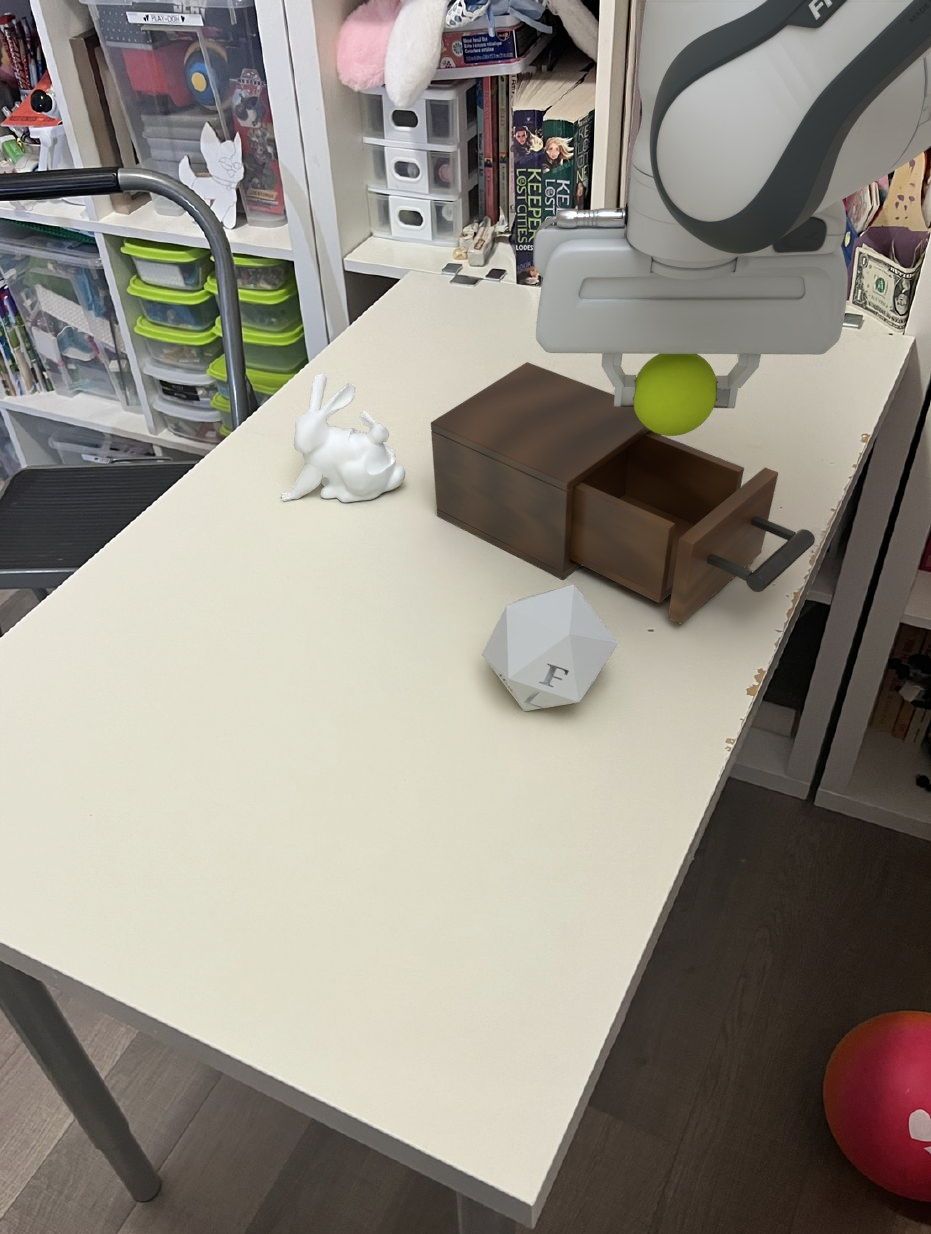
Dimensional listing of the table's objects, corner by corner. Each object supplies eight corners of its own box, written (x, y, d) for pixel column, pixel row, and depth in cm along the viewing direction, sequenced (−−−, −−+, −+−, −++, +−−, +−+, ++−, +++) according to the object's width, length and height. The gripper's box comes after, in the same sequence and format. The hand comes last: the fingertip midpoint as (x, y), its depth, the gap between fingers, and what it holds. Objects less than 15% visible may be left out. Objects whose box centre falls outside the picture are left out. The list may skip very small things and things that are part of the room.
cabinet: (652, 509, 91) (663, 412, 84) (563, 580, 86) (567, 483, 79) (526, 454, 99) (526, 361, 92) (436, 515, 94) (430, 422, 87)
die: (462, 699, 79) (492, 676, 69) (494, 591, 80) (528, 553, 70) (566, 733, 79) (610, 715, 69) (596, 625, 81) (643, 593, 71)
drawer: (816, 577, 82) (839, 495, 76) (737, 652, 77) (754, 571, 71) (626, 494, 92) (633, 416, 86) (544, 556, 87) (546, 478, 81)
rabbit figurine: (277, 502, 97) (258, 410, 90) (298, 457, 102) (281, 367, 95) (400, 507, 95) (391, 414, 88) (416, 461, 100) (408, 369, 93)
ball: (710, 409, 78) (722, 334, 74) (712, 452, 74) (725, 376, 70) (629, 407, 79) (636, 333, 75) (627, 450, 75) (635, 375, 71)
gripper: (529, 229, 65) (527, 424, 75) (874, 224, 61) (823, 429, 71) (537, 191, 69) (534, 380, 79) (861, 183, 65) (814, 383, 75)
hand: (673, 403), depth 75 cm, fingers closed on ball, 6 cm apart
